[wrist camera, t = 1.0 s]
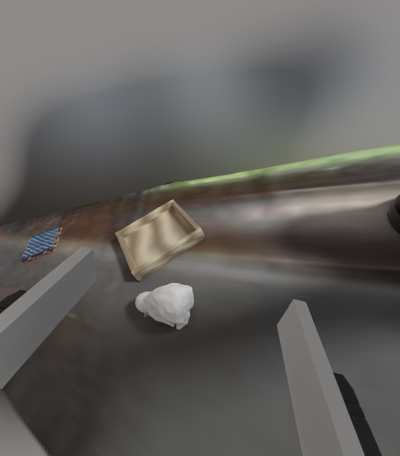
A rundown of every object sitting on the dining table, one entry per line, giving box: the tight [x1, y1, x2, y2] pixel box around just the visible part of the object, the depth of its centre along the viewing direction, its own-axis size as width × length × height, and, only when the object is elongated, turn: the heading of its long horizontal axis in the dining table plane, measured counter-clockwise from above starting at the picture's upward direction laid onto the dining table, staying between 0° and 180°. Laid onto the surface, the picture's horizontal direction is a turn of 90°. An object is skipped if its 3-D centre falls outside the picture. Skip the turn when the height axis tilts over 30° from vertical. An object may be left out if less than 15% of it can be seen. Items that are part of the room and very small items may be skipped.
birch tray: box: [116, 200, 205, 281], centre depth 49 cm, size 18×16×3 cm
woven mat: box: [22, 227, 62, 262], centre depth 61 cm, size 10×11×2 cm
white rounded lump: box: [135, 283, 194, 329], centre depth 34 cm, size 6×8×12 cm
